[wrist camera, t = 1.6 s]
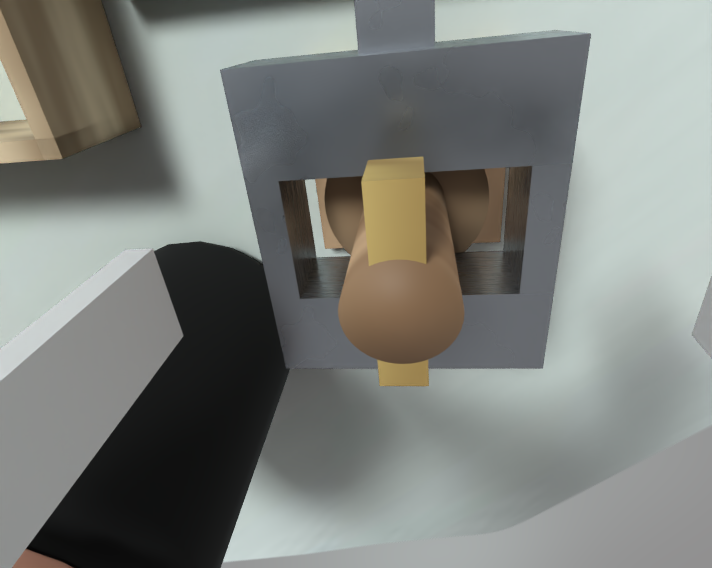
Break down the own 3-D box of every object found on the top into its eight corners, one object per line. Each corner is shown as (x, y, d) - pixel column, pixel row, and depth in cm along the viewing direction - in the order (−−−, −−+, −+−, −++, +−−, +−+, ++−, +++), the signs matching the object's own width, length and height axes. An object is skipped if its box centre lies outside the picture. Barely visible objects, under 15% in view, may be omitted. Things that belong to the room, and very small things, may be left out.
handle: (328, 240, 25) (249, 447, 13) (303, 59, 20) (148, 120, 8) (496, 233, 24) (582, 456, 12) (510, 39, 19) (669, 77, 7)
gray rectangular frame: (303, 321, 19) (286, 368, 17) (243, 0, 13) (204, -3, 11) (524, 318, 18) (542, 368, 15) (563, -38, 12) (603, -53, 10)
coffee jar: (111, 317, 30) (-219, 646, 14) (178, 195, 25) (-215, 496, 9) (250, 399, 32) (99, 756, 17) (337, 303, 27) (237, 683, 12)
